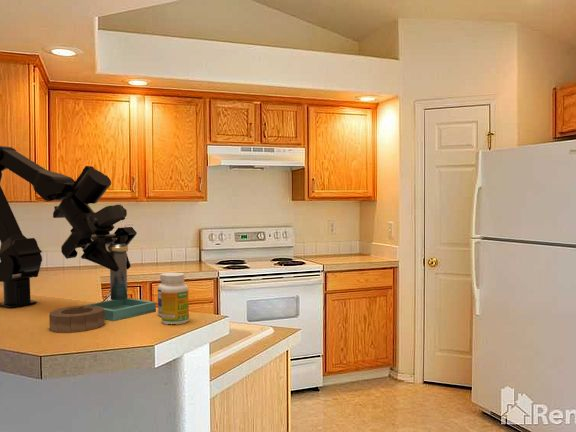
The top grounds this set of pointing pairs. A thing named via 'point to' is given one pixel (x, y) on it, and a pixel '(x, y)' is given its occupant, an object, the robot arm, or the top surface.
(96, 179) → the robot arm
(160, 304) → the pill bottle
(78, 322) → the socket
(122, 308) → the tray
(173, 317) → the supplement bottle
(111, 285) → the steel pin
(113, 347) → the top surface
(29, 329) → the top surface
